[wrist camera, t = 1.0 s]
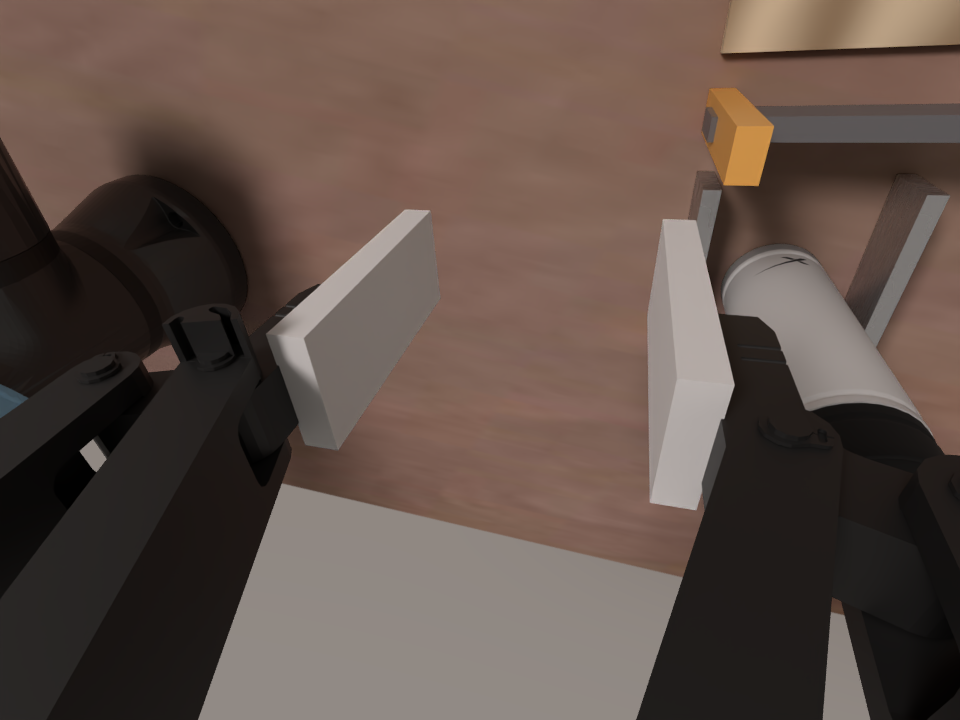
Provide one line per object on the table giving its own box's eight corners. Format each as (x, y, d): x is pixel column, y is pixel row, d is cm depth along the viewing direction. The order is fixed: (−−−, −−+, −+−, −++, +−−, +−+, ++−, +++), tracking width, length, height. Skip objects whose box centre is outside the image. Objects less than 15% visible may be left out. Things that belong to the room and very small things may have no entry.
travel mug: (774, 220, 32) (895, 427, 17) (843, 281, 33) (1019, 529, 18) (697, 285, 36) (737, 503, 21) (761, 338, 37) (847, 584, 22)
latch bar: (696, 132, 31) (716, 185, 22) (704, 88, 29) (729, 126, 21) (946, 131, 28) (1083, 192, 19) (968, 82, 26) (1126, 124, 18)
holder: (663, 346, 40) (665, 375, 37) (697, 171, 32) (703, 189, 29) (834, 362, 37) (852, 396, 34) (917, 174, 29) (950, 195, 26)
